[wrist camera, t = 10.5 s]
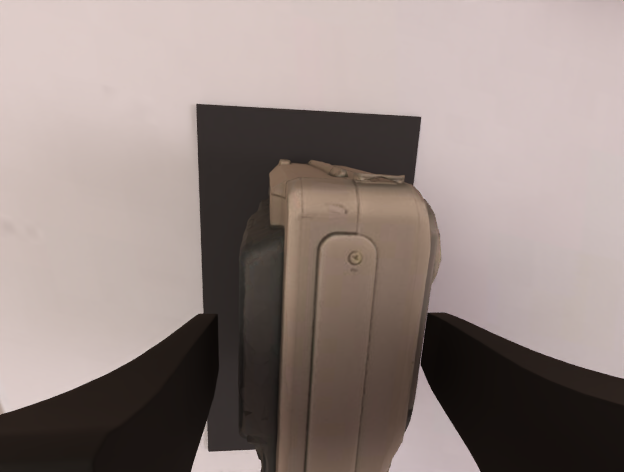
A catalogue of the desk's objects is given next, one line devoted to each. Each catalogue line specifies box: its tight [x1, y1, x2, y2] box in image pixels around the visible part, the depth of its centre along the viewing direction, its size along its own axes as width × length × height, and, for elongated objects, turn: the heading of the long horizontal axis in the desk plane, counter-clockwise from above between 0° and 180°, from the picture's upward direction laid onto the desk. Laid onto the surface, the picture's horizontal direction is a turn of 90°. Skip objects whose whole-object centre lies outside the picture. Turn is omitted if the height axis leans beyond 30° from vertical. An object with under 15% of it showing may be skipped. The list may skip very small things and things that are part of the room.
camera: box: [238, 159, 441, 472], centre depth 14 cm, size 11×6×10 cm, turn 175°
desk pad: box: [196, 104, 421, 452], centre depth 20 cm, size 20×11×1 cm, turn 177°
